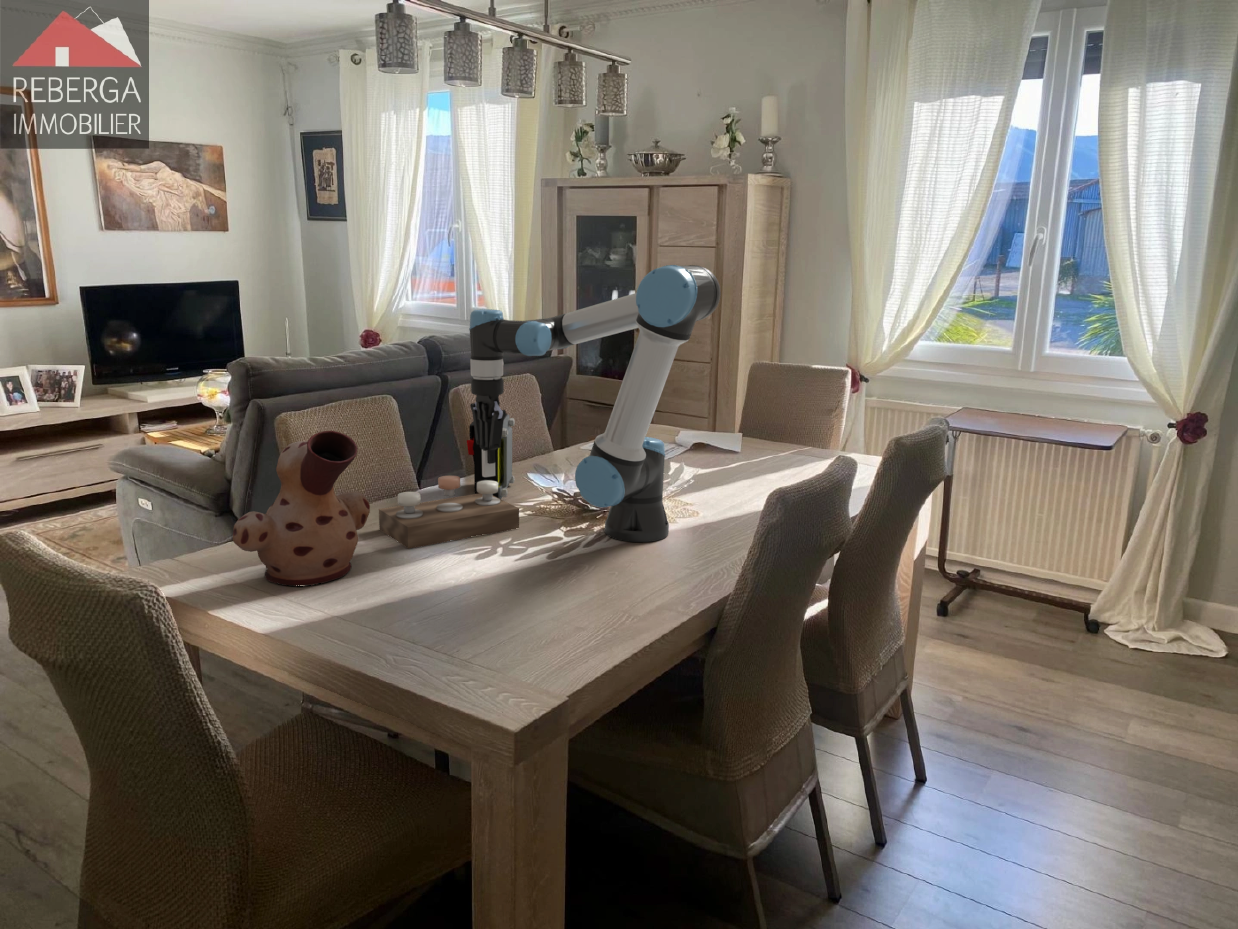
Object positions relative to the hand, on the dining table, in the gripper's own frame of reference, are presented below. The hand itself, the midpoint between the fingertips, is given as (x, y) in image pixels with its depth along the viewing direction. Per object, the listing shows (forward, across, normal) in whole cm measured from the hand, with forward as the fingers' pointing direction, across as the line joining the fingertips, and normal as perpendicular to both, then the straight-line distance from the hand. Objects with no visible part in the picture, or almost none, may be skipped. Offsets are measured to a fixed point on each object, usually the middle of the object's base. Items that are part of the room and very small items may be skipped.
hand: (488, 475), depth 219 cm
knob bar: (+12, 0, +10) cm, 15 cm away
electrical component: (+12, +24, -14) cm, 30 cm away
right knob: (+6, 0, 0) cm, 6 cm away
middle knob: (+3, 0, +10) cm, 11 cm away
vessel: (+12, -12, +46) cm, 49 cm away
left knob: (+6, 0, +20) cm, 21 cm away
